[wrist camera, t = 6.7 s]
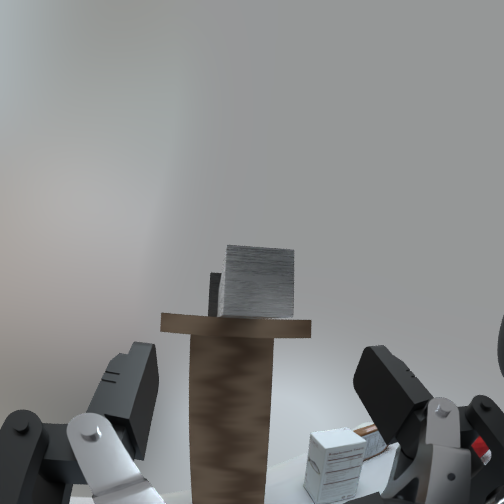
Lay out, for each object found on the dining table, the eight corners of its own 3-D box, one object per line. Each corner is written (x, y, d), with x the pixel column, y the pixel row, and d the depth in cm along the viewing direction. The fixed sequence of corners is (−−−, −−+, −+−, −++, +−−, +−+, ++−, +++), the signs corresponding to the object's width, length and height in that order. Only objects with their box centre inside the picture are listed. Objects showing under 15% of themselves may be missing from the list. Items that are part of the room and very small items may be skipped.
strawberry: (493, 462, 22) (506, 419, 24) (464, 473, 24) (477, 429, 26) (481, 453, 27) (492, 412, 30) (454, 461, 29) (464, 420, 32)
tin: (383, 446, 47) (388, 416, 49) (392, 449, 44) (398, 419, 46) (334, 465, 42) (339, 433, 44) (343, 471, 39) (348, 437, 41)
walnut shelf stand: (263, 511, 27) (274, 320, 35) (283, 566, 14) (311, 319, 22) (184, 510, 26) (181, 315, 34) (179, 568, 12) (161, 312, 20)
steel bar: (248, 319, 34) (250, 280, 35) (314, 317, 12) (313, 211, 13) (208, 317, 33) (210, 277, 34) (199, 313, 11) (208, 201, 12)
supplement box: (302, 486, 35) (309, 431, 38) (339, 479, 36) (348, 426, 39) (314, 506, 28) (324, 448, 31) (355, 497, 28) (368, 439, 32)
